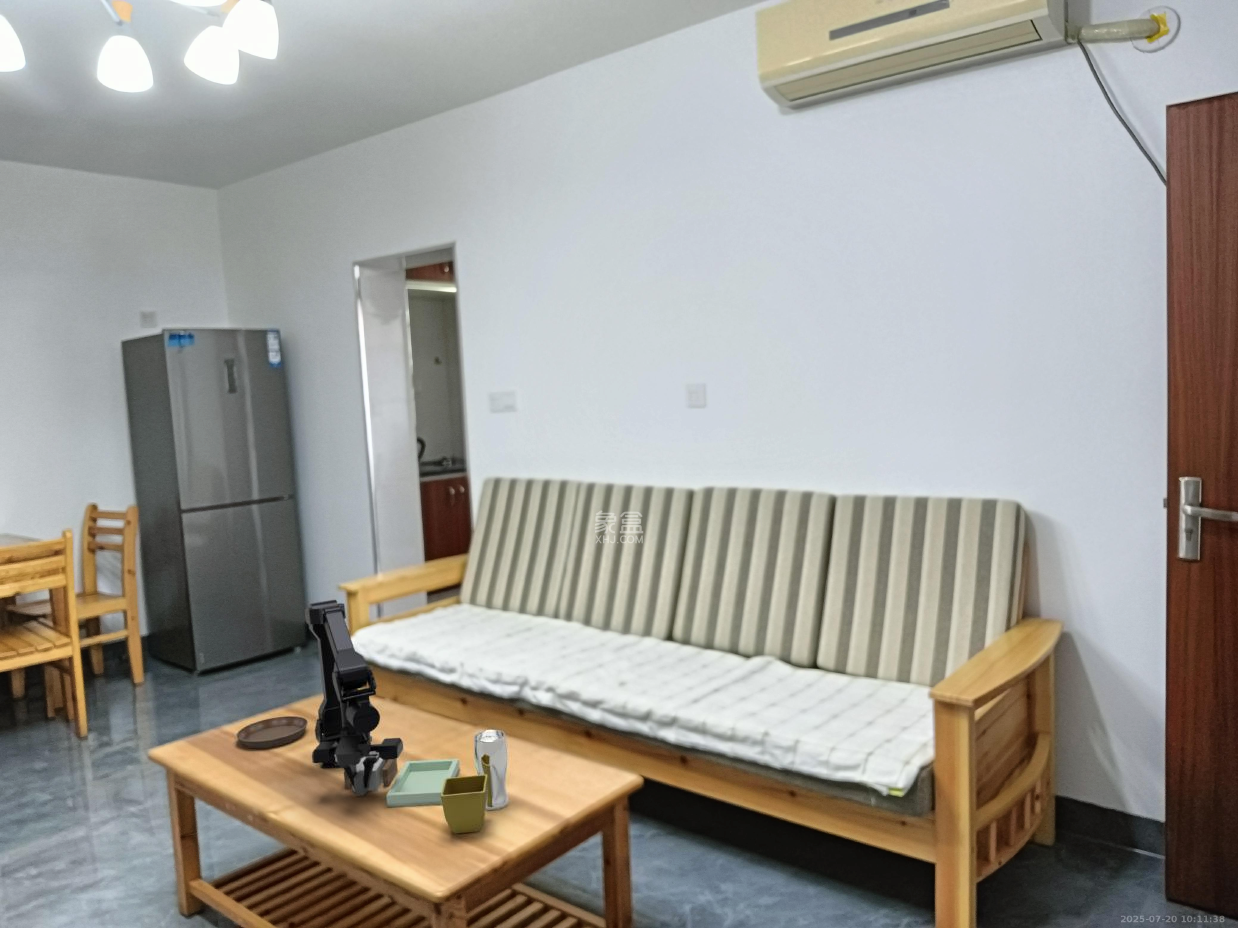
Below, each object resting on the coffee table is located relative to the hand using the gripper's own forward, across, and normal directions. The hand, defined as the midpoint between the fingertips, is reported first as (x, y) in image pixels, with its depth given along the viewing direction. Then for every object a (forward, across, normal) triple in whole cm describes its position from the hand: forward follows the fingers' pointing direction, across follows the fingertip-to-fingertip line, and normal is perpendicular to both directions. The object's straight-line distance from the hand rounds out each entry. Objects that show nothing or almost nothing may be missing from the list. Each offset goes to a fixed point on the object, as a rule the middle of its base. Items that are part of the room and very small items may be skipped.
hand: (361, 787), depth 202 cm
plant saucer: (+2, -34, +38) cm, 52 cm away
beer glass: (+2, +30, -8) cm, 31 cm away
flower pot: (+2, +26, -18) cm, 32 cm away
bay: (+2, 0, +8) cm, 8 cm away
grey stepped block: (+2, 0, +4) cm, 5 cm away
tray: (+2, +14, +2) cm, 14 cm away
